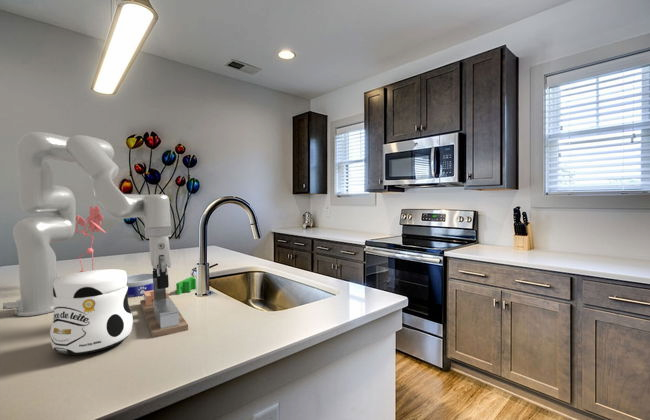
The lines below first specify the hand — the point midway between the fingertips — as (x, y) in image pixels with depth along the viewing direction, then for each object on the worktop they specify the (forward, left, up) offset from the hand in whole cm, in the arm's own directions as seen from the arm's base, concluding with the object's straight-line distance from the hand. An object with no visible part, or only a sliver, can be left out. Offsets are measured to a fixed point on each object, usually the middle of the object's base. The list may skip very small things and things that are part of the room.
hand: (160, 285), depth 106 cm
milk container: (-18, -15, -10) cm, 25 cm away
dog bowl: (-4, +33, -10) cm, 35 cm away
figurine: (-17, +60, -10) cm, 63 cm away
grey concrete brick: (0, -11, -8) cm, 14 cm away
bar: (0, -7, -8) cm, 10 cm away
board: (0, -3, -9) cm, 10 cm away
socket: (0, +11, -8) cm, 13 cm away
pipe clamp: (+13, +23, -10) cm, 28 cm away
